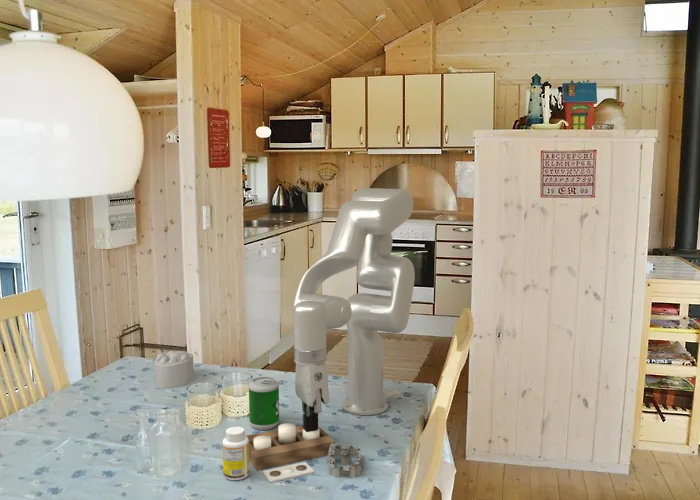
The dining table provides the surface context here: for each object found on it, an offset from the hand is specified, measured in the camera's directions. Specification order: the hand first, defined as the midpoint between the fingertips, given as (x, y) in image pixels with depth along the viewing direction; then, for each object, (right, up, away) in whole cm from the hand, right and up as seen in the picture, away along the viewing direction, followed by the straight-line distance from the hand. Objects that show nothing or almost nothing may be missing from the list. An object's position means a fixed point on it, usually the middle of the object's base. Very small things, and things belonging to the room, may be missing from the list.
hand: (310, 429), depth 154 cm
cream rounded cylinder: (-11, -4, -5) cm, 12 cm away
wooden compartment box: (-5, -5, -2) cm, 7 cm away
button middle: (-5, -2, -2) cm, 6 cm away
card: (-4, -6, -12) cm, 14 cm away
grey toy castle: (+8, -6, -9) cm, 14 cm away
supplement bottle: (-15, -6, -13) cm, 21 cm away
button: (0, -3, +1) cm, 4 cm away
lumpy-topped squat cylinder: (-45, +2, +47) cm, 65 cm away
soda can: (-13, -3, +13) cm, 18 cm away
